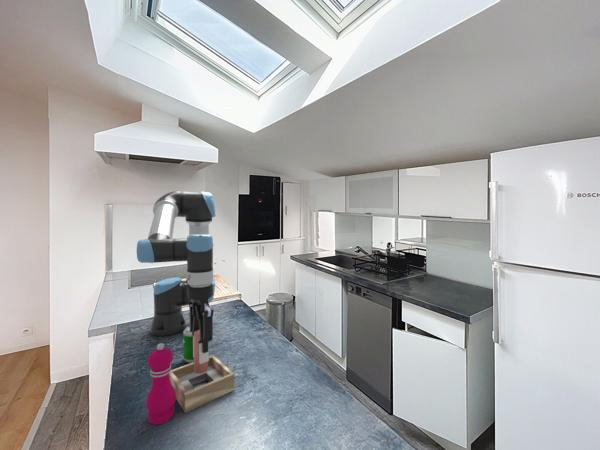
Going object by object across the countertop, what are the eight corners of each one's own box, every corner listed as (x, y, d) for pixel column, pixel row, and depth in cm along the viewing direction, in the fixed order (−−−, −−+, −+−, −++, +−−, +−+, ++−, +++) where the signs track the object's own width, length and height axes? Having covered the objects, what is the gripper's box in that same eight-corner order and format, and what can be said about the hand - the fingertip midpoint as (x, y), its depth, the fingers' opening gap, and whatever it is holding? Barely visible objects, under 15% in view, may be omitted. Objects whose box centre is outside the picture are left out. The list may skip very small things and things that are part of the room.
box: (168, 386, 86) (167, 371, 86) (213, 368, 96) (213, 355, 96) (185, 412, 75) (185, 395, 75) (234, 389, 85) (234, 374, 85)
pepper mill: (153, 407, 77) (152, 337, 77) (179, 405, 78) (179, 337, 77) (140, 427, 70) (139, 350, 69) (170, 425, 71) (169, 349, 70)
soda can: (209, 355, 105) (208, 325, 105) (195, 366, 98) (195, 333, 98) (193, 352, 108) (192, 322, 107) (178, 362, 101) (178, 330, 100)
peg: (192, 369, 85) (191, 331, 85) (204, 364, 88) (204, 328, 88) (197, 375, 82) (196, 335, 82) (209, 370, 85) (209, 331, 85)
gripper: (178, 281, 88) (178, 352, 89) (199, 292, 76) (199, 375, 76) (201, 277, 93) (201, 345, 94) (224, 287, 81) (224, 365, 81)
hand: (200, 358), depth 85 cm, fingers closed on peg, 4 cm apart
